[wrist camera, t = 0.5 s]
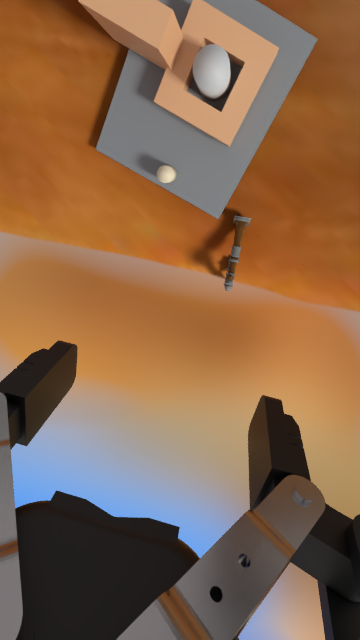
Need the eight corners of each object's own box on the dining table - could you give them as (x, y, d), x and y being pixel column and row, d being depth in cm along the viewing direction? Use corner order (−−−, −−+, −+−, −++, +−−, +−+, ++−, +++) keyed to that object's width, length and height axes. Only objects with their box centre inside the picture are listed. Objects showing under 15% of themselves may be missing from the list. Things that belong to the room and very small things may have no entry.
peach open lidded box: (276, 55, 28) (289, 19, 22) (229, 147, 32) (227, 140, 25) (135, -32, 27) (103, -97, 21) (103, 73, 31) (66, 46, 24)
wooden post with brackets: (217, 291, 39) (219, 288, 35) (231, 226, 39) (234, 214, 34) (232, 294, 39) (236, 291, 34) (246, 229, 39) (251, 217, 34)
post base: (167, -49, 28) (151, -101, 22) (314, 43, 29) (332, 15, 23) (99, 150, 35) (75, 146, 30) (218, 217, 36) (216, 225, 31)
